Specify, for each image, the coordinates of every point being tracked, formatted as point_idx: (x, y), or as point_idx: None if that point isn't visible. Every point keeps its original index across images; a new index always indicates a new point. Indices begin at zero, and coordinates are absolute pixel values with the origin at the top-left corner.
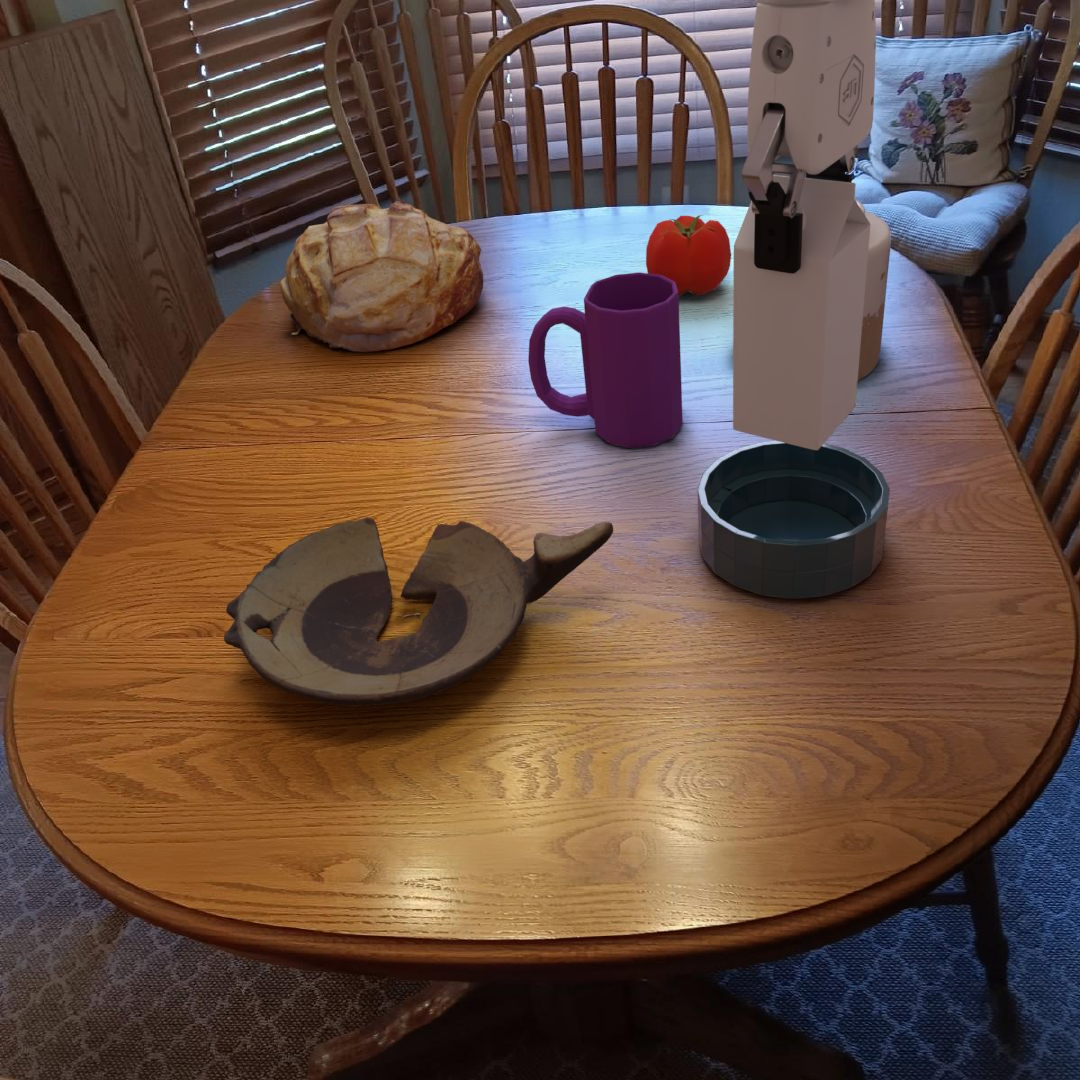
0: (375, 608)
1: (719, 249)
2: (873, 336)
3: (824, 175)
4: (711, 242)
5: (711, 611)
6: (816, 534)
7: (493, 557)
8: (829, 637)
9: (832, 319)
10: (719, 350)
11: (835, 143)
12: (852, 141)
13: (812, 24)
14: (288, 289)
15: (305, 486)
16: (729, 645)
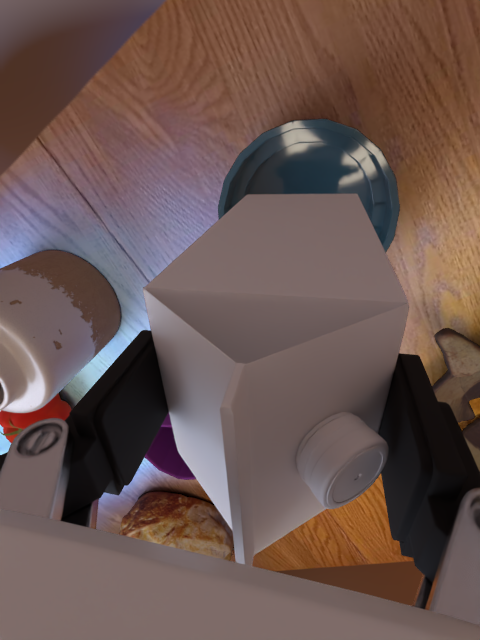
0: None
1: None
2: (35, 261)
3: (109, 462)
4: (22, 414)
5: (414, 226)
6: (287, 192)
7: (444, 388)
8: (418, 116)
9: (351, 242)
10: (103, 356)
11: None
12: (103, 603)
13: None
14: None
15: (369, 496)
16: (456, 192)
